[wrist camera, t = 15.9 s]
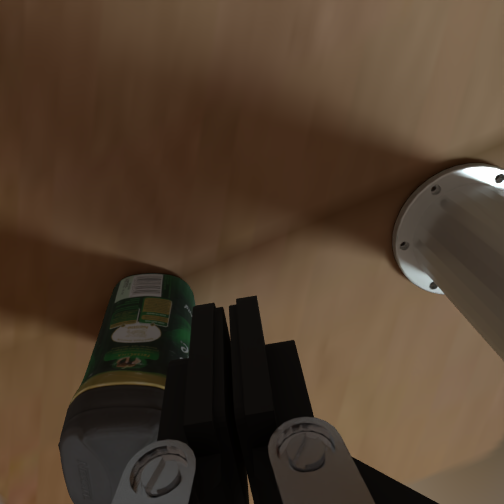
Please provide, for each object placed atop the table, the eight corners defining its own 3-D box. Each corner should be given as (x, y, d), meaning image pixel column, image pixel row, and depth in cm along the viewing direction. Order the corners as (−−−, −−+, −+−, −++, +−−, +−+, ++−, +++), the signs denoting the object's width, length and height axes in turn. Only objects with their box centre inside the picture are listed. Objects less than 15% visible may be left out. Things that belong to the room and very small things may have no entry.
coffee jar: (199, 352, 45) (191, 539, 29) (118, 354, 45) (62, 546, 28) (197, 267, 41) (187, 428, 24) (108, 267, 40) (36, 433, 24)
